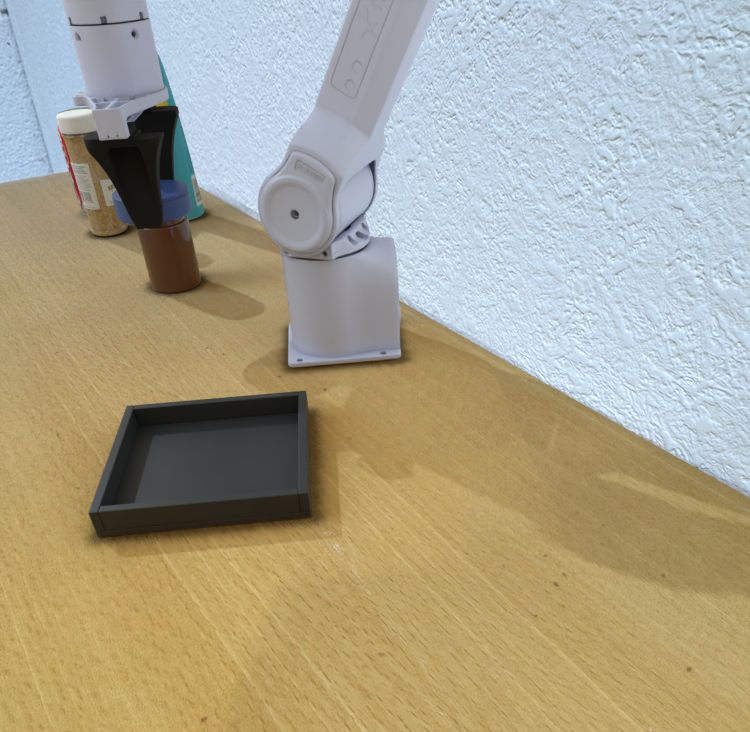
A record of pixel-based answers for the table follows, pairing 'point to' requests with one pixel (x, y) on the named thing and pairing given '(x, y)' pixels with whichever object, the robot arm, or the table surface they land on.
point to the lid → (172, 201)
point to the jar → (170, 256)
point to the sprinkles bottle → (90, 173)
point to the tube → (183, 157)
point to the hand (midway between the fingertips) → (156, 214)
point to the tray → (206, 465)
